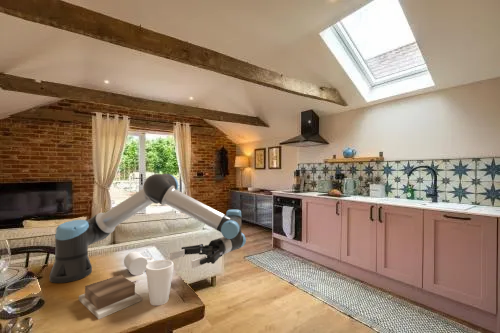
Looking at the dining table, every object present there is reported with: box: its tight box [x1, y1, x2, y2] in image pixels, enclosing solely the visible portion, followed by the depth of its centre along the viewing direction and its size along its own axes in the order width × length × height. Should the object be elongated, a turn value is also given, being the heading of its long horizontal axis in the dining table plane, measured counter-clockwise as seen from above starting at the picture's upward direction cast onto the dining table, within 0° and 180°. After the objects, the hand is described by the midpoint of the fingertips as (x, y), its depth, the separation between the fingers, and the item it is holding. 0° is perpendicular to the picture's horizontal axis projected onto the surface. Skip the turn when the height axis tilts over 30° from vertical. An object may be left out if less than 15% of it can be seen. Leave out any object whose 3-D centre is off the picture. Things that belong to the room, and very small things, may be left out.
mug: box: [123, 251, 155, 276], centre depth 113 cm, size 12×10×8 cm
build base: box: [78, 274, 143, 320], centre depth 87 cm, size 18×14×6 cm
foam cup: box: [145, 259, 175, 307], centre depth 87 cm, size 10×9×13 cm
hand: (181, 260), depth 94 cm, fingers open, 13 cm apart
